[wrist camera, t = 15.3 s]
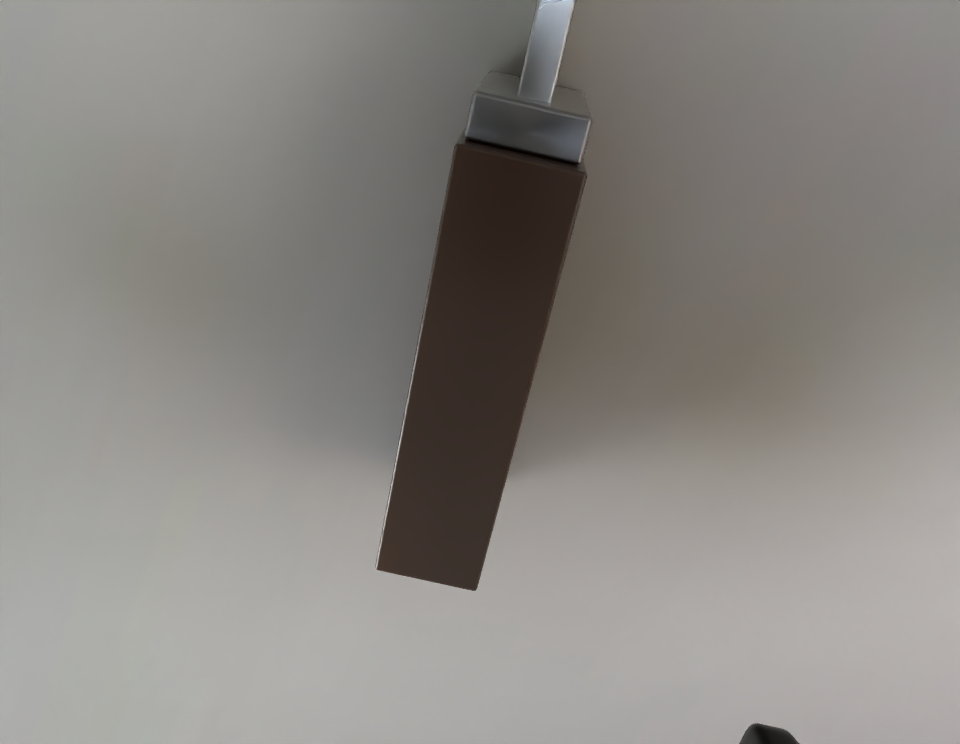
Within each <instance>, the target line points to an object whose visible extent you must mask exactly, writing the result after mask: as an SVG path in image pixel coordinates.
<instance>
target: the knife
mask: <svg viewBox="0 0 960 744" xmlns="http://www.w3.org/2000/svg"><path fill="white" fill-rule="evenodd" d="M575 3H576V0H538V1H537V5H536V10H535V14H534V19H533V24H532V28H531V33H530V37H529V42H528V47H527V51H526V56H525V60H524V65H523V70H522V74H521V78H520V77H516V76H512V75H507V74H503V73H499V72H494V71H490V72H488V74H487V75H486V77H485V78H484V79H483V81H482V82H481V83H480V85H479V86H478V87H477V89H476V90H475V91H474V93H473V95H472V100H471V105H470V110H469V115H468V120H467V126H466V128H465V130H464V132H463V133H462V135H461V137H460V138H459V140H458V141H457V143H456V145H455V147H454V152H453V157H452V163H451V168H450V173H449V178H448V184H447V189H446V194H445V200H444V205H443V210H442V216H441V221H440V226H439V232H438V237H437V242H436V247H435V253H434V258H433V263H432V269H431V274H430V279H429V285H428V290H427V295H426V301H425V306H424V311H423V317H422V322H421V327H420V332H419V338H418V343H417V348H416V354H415V359H414V364H413V370H412V375H411V380H410V386H409V391H408V396H407V402H406V407H405V412H404V417H403V423H402V428H401V433H400V439H399V444H398V449H397V455H396V460H395V465H394V471H393V476H392V481H391V486H390V492H389V497H388V502H387V508H386V513H385V518H384V524H383V529H382V534H381V540H380V545H379V550H378V556H377V561H376V569H377V570H380V571H385V572H389V573H394V574H398V575H403V576H408V577H412V578H417V579H421V580H426V581H431V582H435V583H440V584H445V585H449V586H454V587H458V588H463V589H468V590H472V591H475V590H476V589H477V587H478V583H479V579H480V576H481V572H482V568H483V564H484V561H485V557H486V553H487V549H488V546H489V542H490V538H491V534H492V531H493V527H494V523H495V519H496V516H497V512H498V508H499V504H500V501H501V497H502V493H503V489H504V486H505V482H506V478H507V474H508V471H509V467H510V463H511V459H512V456H513V452H514V448H515V444H516V441H517V437H518V433H519V429H520V426H521V422H522V418H523V414H524V411H525V407H526V403H527V400H528V396H529V392H530V388H531V385H532V381H533V377H534V373H535V370H536V366H537V362H538V358H539V355H540V351H541V347H542V343H543V340H544V336H545V332H546V328H547V325H548V321H549V317H550V313H551V310H552V306H553V302H554V298H555V295H556V291H557V287H558V283H559V280H560V276H561V272H562V268H563V265H564V261H565V257H566V253H567V250H568V246H569V242H570V238H571V235H572V231H573V227H574V223H575V220H576V216H577V212H578V208H579V205H580V201H581V197H582V193H583V190H584V186H585V182H586V179H587V173H586V168H585V163H584V158H583V157H584V153H585V149H586V146H587V142H588V138H589V134H590V130H591V127H592V123H593V121H592V116H591V113H590V110H589V107H588V104H587V101H586V98H585V95H584V93H583V92H581V91H577V90H573V89H568V88H564V87H560V86H556V83H557V79H558V75H559V70H560V66H561V62H562V58H563V53H564V49H565V45H566V41H567V37H568V32H569V28H570V24H571V20H572V15H573V11H574V7H575Z"/></svg>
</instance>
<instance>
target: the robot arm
mask: <svg viewBox="0 0 960 744" xmlns="http://www.w3.org/2000/svg"><path fill="white" fill-rule="evenodd" d="M739 744H799V743H798V742H797V741H796V739H795V738H794V737H793V736H792V735H791V734H790V733H789V732H788V731H786V730H784V729H781V728H777V727H772V726H767V725H763V724H758V723H757V724H752V725H751V726H749V727H748V729H747V730H746V732H745V734H744V736H743V738H742V740H741V742H740V743H739Z"/></svg>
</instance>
